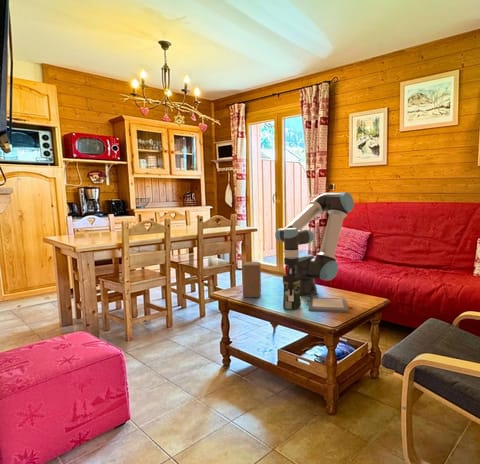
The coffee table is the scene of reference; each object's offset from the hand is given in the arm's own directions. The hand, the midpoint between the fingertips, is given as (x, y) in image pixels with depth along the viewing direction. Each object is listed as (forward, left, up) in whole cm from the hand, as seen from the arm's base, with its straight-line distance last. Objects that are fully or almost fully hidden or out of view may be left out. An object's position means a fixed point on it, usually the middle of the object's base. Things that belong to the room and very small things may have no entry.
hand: (291, 298), depth 188 cm
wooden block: (-19, -25, -5) cm, 32 cm away
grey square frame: (-6, +19, -5) cm, 21 cm away
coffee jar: (0, 0, -5) cm, 5 cm away
